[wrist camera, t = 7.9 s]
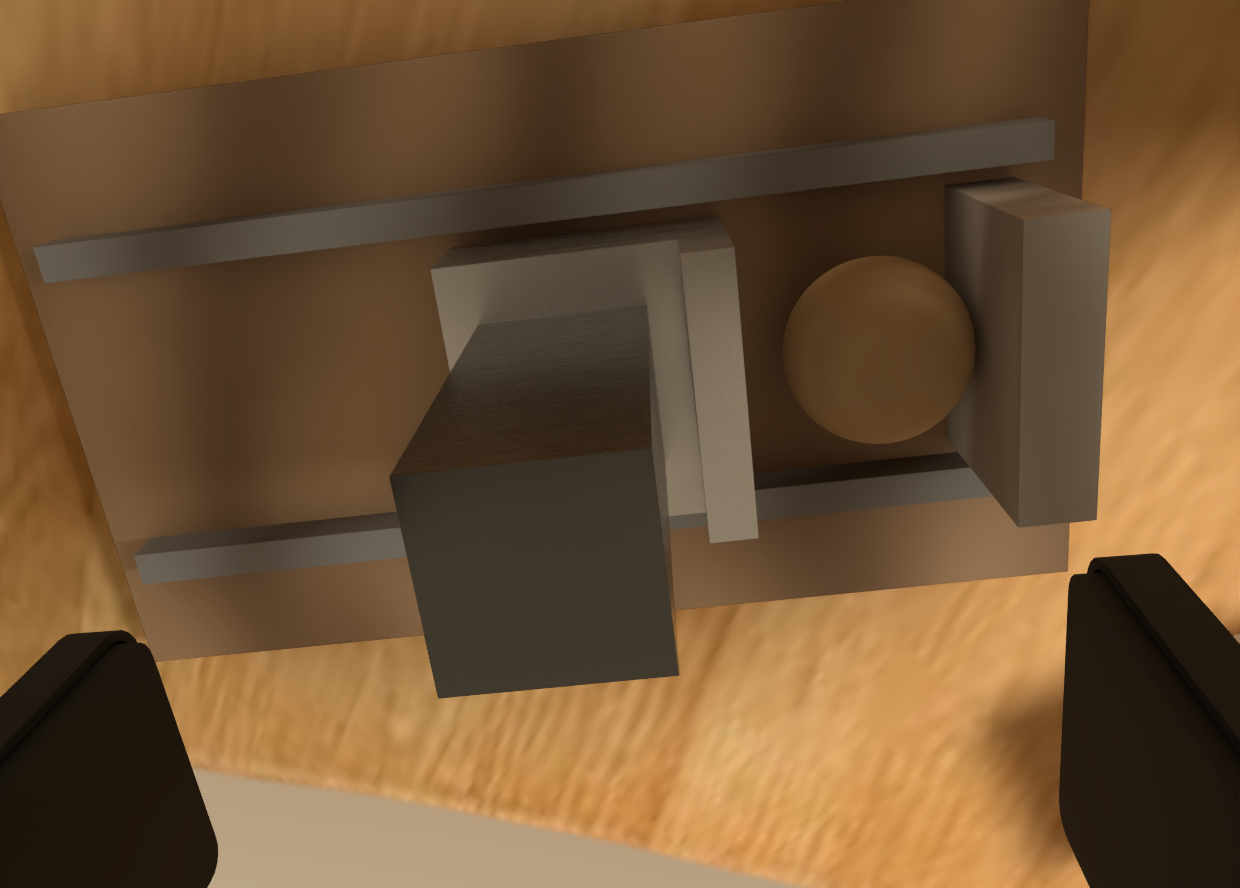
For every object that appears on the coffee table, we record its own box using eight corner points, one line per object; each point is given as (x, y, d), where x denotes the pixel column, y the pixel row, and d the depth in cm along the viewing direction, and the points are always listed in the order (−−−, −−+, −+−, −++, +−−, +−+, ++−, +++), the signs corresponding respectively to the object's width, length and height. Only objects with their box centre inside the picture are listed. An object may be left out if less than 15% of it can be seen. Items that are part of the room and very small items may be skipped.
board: (1061, -27, 22) (1218, -55, 16) (1045, 544, 27) (1161, 685, 21) (11, 113, 24) (-203, 135, 18) (177, 632, 29) (54, 787, 23)
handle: (718, 214, 23) (779, 340, 13) (740, 464, 25) (807, 736, 15) (451, 246, 23) (312, 394, 13) (495, 490, 25) (404, 773, 15)
